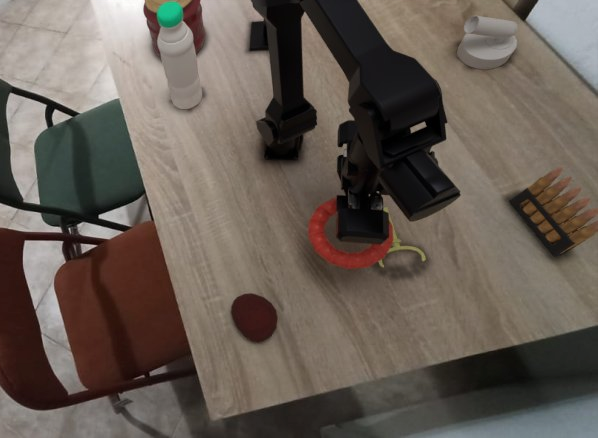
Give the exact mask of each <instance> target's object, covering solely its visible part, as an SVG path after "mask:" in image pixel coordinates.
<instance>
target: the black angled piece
mask: <svg viewBox="0 0 598 438" xmlns="http://www.w3.org/2000/svg"><path fill="white" fill-rule="evenodd" d="M249 37H250V38H249V52H253V51H255V52H256V51H269V47H268V36H267V26H266V20H265V19H264V18H263V20H258V21H257V20H256V21H252V22H251V27H250V36H249Z"/></svg>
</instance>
